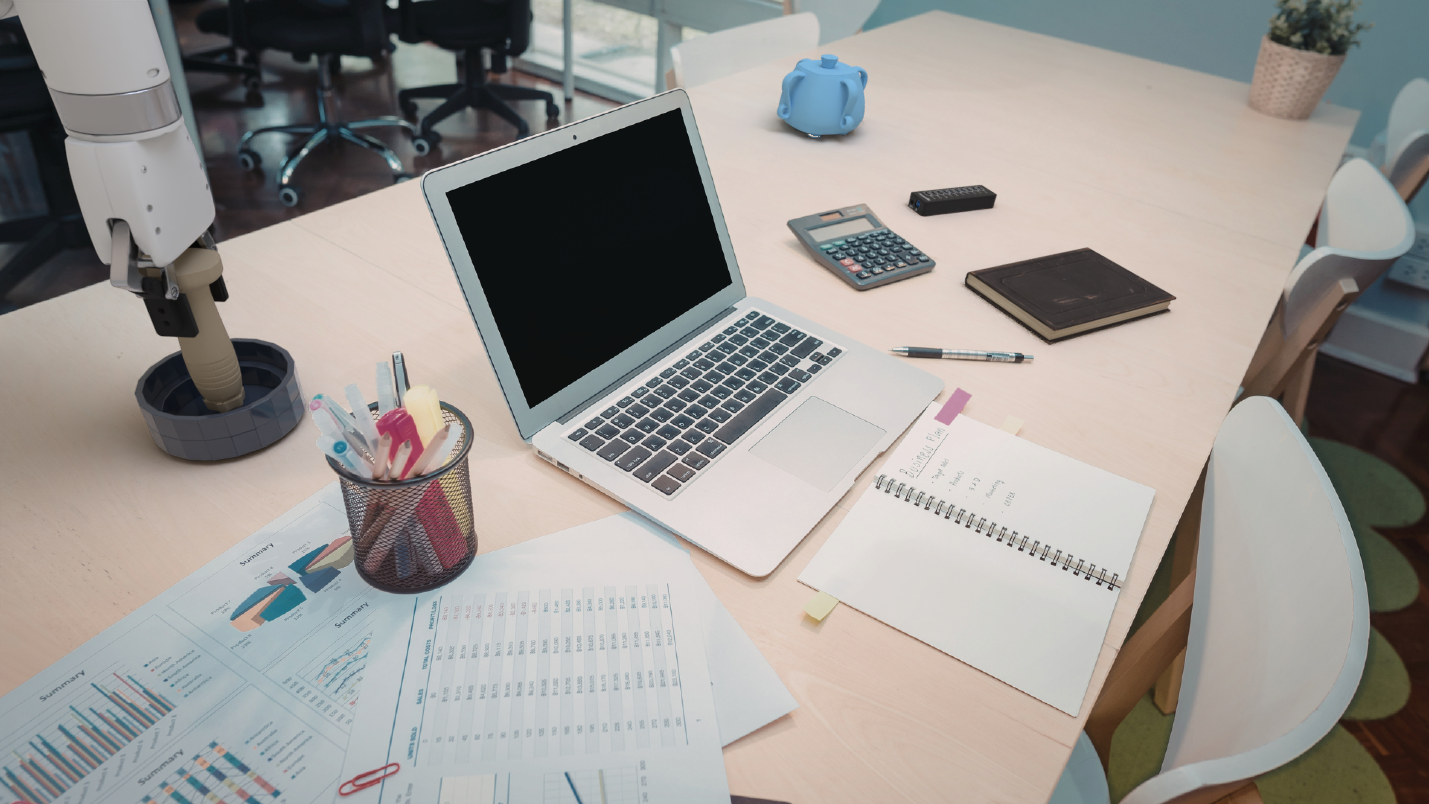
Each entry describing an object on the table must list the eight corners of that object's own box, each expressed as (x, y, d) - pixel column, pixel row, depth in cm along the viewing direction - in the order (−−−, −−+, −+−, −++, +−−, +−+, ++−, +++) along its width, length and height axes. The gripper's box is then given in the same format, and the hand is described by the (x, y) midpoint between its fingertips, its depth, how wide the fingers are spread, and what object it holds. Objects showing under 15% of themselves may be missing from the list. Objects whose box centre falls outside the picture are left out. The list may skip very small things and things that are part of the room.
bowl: (126, 463, 72) (104, 417, 69) (193, 378, 82) (177, 335, 79) (277, 467, 73) (262, 422, 70) (324, 383, 83) (313, 340, 80)
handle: (193, 392, 77) (138, 250, 68) (268, 385, 79) (224, 246, 70) (183, 424, 74) (123, 278, 65) (261, 416, 75) (214, 273, 66)
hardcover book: (1169, 311, 110) (1176, 297, 109) (1049, 344, 101) (1055, 329, 99) (1079, 259, 121) (1084, 245, 120) (962, 284, 112) (967, 269, 110)
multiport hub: (994, 207, 134) (998, 194, 133) (922, 216, 129) (925, 202, 128) (977, 197, 137) (981, 184, 136) (906, 205, 132) (909, 191, 131)
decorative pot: (846, 150, 150) (860, 74, 142) (765, 131, 155) (775, 56, 146) (868, 126, 163) (882, 54, 154) (792, 109, 167) (802, 39, 159)
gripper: (126, 68, 66) (195, 267, 77) (-13, 143, 52) (94, 372, 63) (223, 75, 67) (277, 272, 78) (110, 151, 53) (195, 376, 64)
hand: (194, 315), depth 70 cm, fingers closed on handle, 5 cm apart
